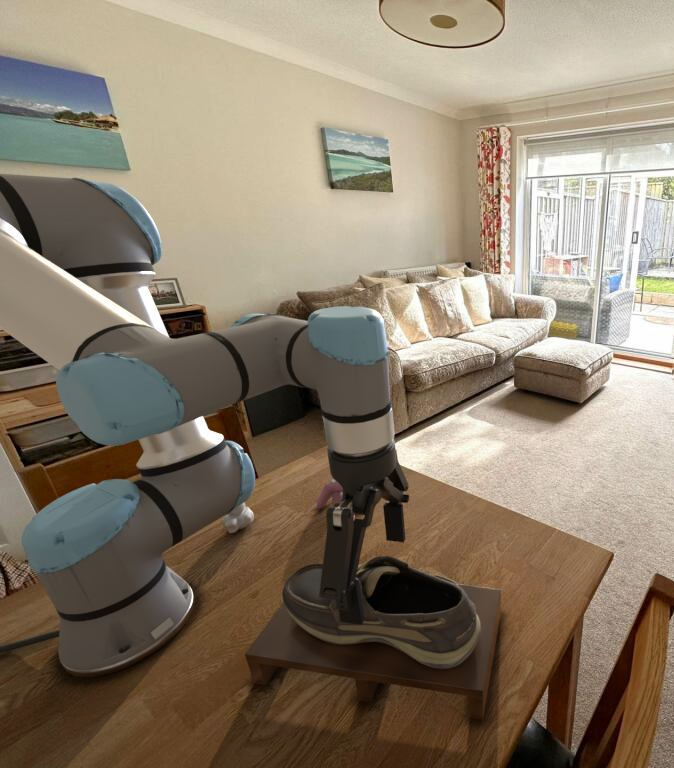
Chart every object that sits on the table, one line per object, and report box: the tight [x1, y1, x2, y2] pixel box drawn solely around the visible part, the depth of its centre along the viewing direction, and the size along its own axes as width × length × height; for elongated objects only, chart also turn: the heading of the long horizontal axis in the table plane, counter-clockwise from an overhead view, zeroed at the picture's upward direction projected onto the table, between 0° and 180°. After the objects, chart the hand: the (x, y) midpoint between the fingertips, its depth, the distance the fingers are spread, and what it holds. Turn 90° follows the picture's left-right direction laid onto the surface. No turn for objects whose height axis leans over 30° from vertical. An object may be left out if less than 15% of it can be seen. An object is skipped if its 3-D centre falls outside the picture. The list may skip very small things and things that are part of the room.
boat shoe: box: [282, 555, 481, 669], centre depth 56 cm, size 11×29×11 cm, turn 79°
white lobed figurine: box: [221, 502, 255, 534], centre depth 81 cm, size 5×7×8 cm
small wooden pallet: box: [244, 583, 502, 721], centre depth 59 cm, size 32×15×6 cm, turn 83°
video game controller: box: [316, 478, 356, 516], centre depth 89 cm, size 10×5×7 cm, turn 77°
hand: (376, 575), depth 55 cm, fingers open, 13 cm apart
